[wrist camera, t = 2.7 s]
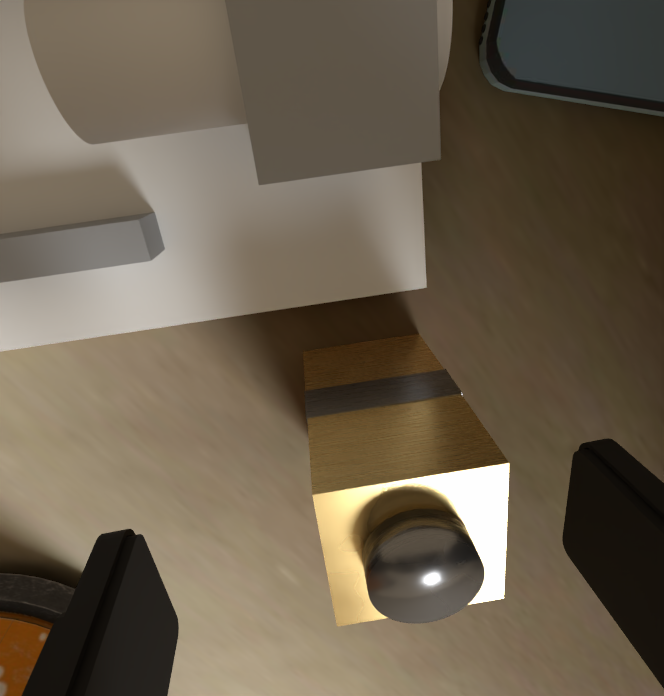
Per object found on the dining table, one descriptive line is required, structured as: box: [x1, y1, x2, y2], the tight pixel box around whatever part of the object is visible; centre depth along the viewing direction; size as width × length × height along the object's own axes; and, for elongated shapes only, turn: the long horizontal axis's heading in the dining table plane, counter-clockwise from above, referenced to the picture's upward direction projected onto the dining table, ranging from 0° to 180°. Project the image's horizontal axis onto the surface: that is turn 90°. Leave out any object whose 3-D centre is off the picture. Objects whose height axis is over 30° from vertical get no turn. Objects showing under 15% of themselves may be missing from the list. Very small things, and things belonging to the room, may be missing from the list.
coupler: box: [303, 334, 509, 626], centre depth 13 cm, size 4×4×8 cm
